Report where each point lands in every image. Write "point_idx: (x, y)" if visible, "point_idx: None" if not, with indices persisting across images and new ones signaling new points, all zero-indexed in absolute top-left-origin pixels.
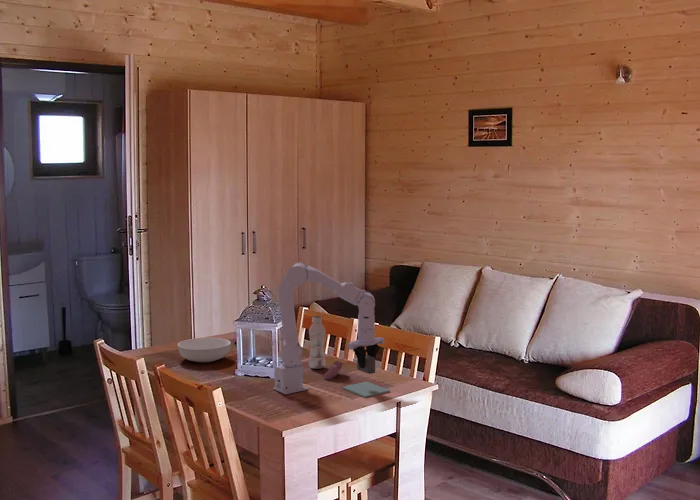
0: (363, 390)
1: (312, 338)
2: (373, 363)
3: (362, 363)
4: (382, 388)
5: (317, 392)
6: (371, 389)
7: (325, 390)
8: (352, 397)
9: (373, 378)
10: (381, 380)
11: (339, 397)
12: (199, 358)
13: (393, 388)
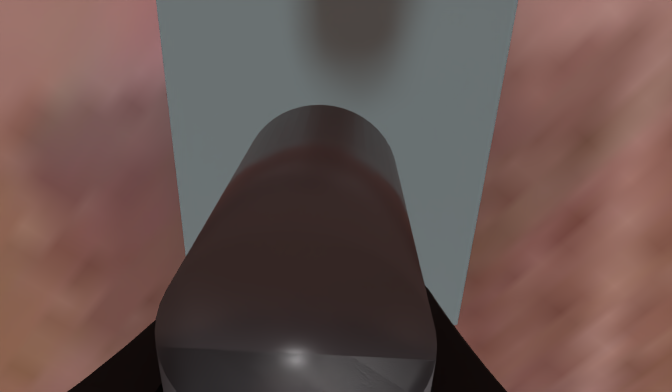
0: (389, 144)
1: None
2: (309, 173)
3: (462, 343)
4: (189, 73)
5: (664, 351)
6: None
7: (582, 351)
8: (588, 79)
9: (83, 353)
10: (48, 286)
11: (668, 156)
12: None
13: (62, 44)
